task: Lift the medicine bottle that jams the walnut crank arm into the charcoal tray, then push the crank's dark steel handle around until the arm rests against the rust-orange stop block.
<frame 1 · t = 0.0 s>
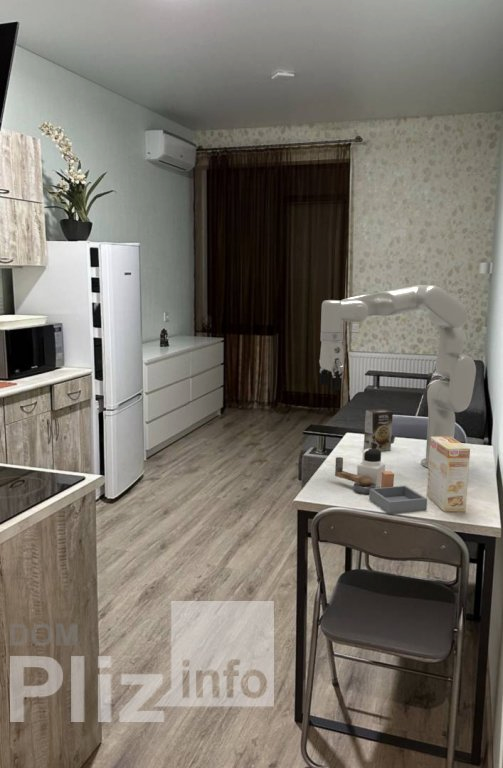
hand: (329, 386, 221), 31 cm above the table, tool pointing down, fingers open, 9 cm apart
crank base: (364, 490, 210), on the table
medicine bottle: (370, 485, 216), on the table
tray: (397, 504, 198), on the table
coffeecake box: (445, 503, 200), on the table
cell phone: (385, 440, 277), on the table
coffee box: (377, 450, 259), on the table
stop block: (386, 493, 207), on the table
crank: (352, 471, 212), point 5 cm above the table, hinge at 125.0°
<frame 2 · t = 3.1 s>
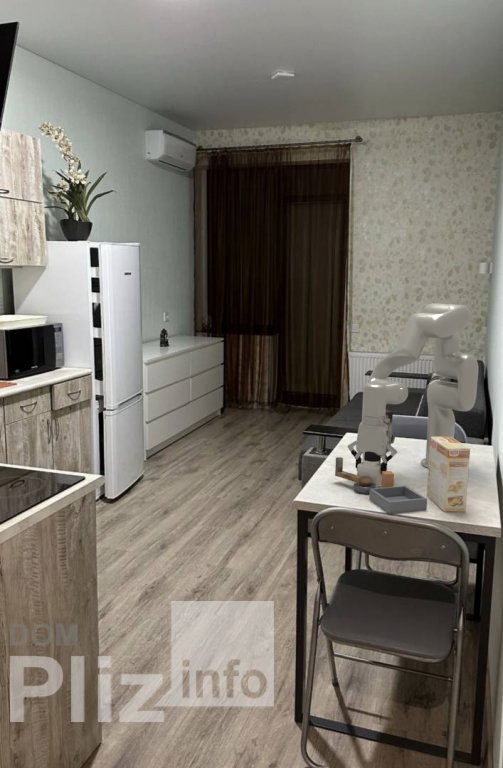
hand: (370, 471, 216), 4 cm above the table, tool pointing down, fingers closed on medicine bottle, 7 cm apart
medicine bottle: (370, 484, 216), on the table, touching gripper
everything else where it was.
when the fingers open (6 cm above the table, at t = 9.9 s): medicine bottle drops 1 cm, resting on tray.
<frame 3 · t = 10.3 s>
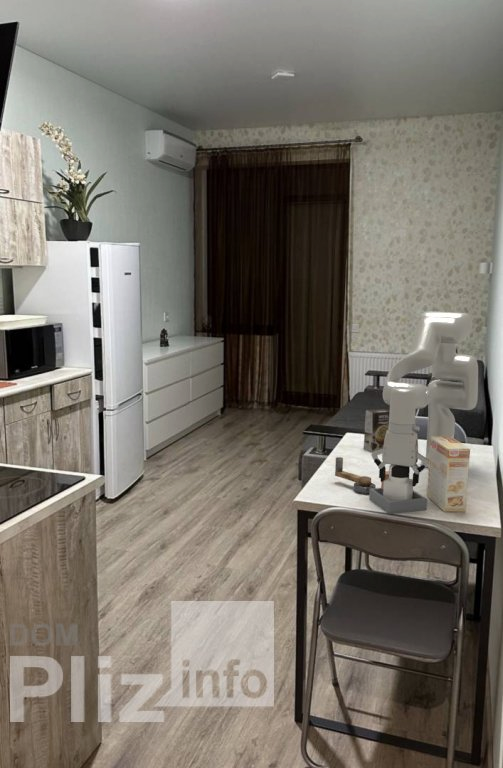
hand: (398, 482, 196), 7 cm above the table, tool pointing down, fingers open, 9 cm apart
medicine bottle: (397, 503, 198), resting on tray
everything else where it was.
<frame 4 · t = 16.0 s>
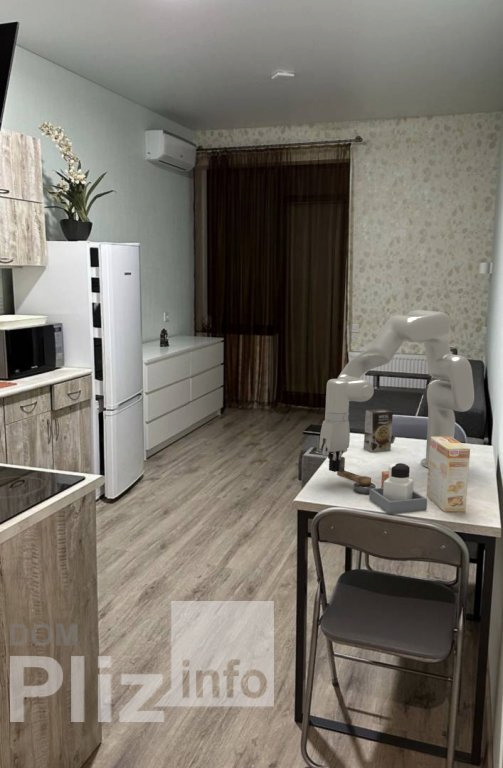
hand: (333, 470, 215), 5 cm above the table, tool pointing down, fingers closed
crank: (353, 470, 213), point 5 cm above the table, hinge at 120.0°, touching gripper
everything else where it was.
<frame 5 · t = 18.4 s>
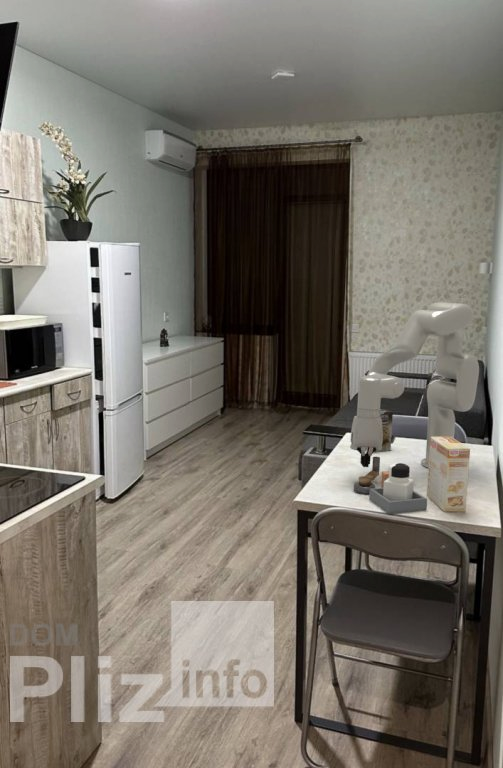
hand: (365, 466, 219), 5 cm above the table, tool pointing down, fingers closed
crank: (370, 470, 213), point 5 cm above the table, hinge at 53.8°, touching gripper
everything else where it was.
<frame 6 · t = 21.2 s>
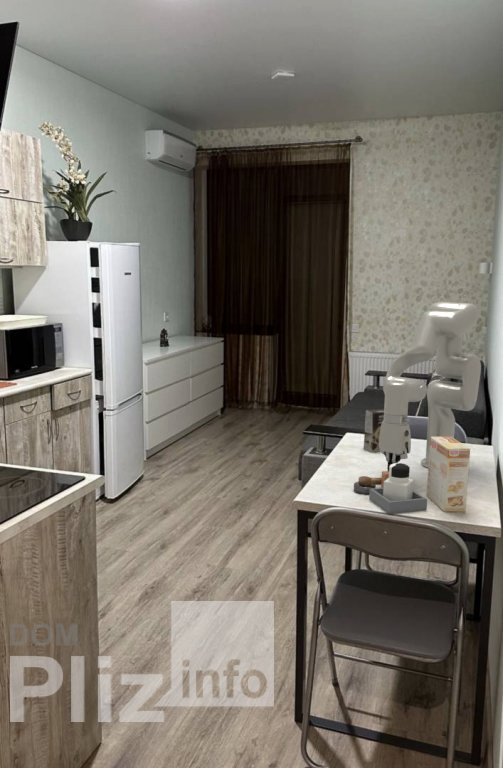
hand: (392, 472, 213), 5 cm above the table, tool pointing down, fingers closed
crank: (380, 474, 209), point 5 cm above the table, hinge at -2.9°, touching gripper, stop block
everything else where it was.
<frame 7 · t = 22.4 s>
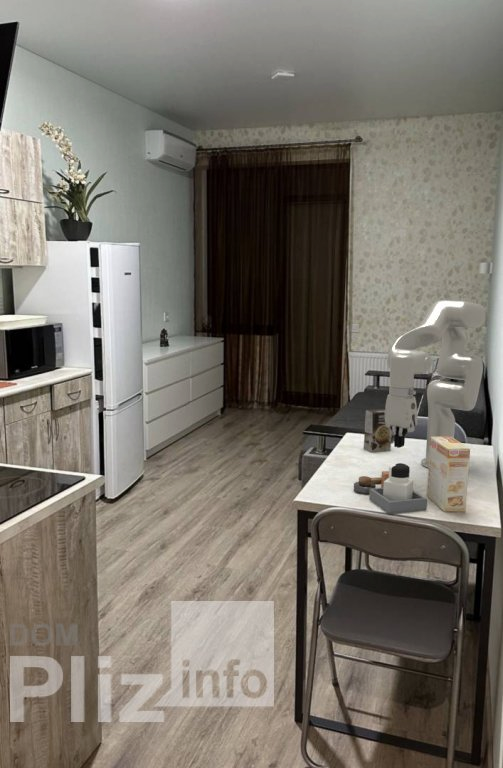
hand: (399, 446, 211), 14 cm above the table, tool pointing down, fingers closed
crank: (380, 474, 209), point 5 cm above the table, hinge at -0.8°
everything else where it was.
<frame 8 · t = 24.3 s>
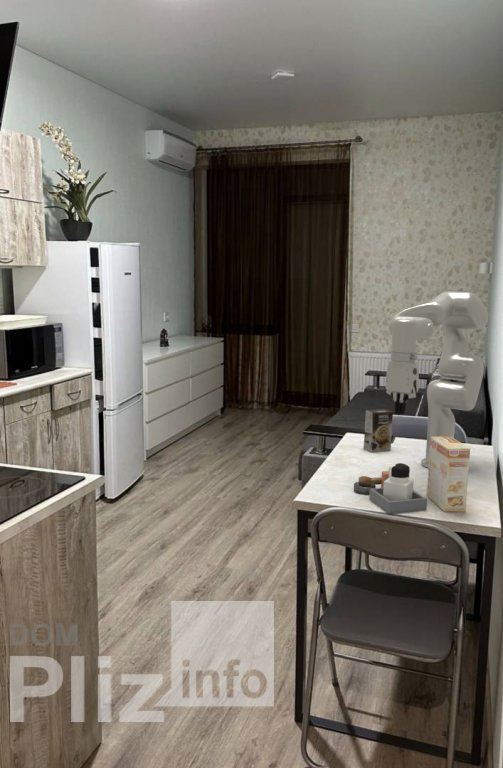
hand: (399, 413, 209), 25 cm above the table, tool pointing down, fingers closed
nothing on the table moved.
at the end: medicine bottle inside the target area on the tray (0.1 cm from its centre), point 0.4 cm above the tray's base; crank at -1° (first picture: +125°); medicine bottle tilted 0° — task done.
